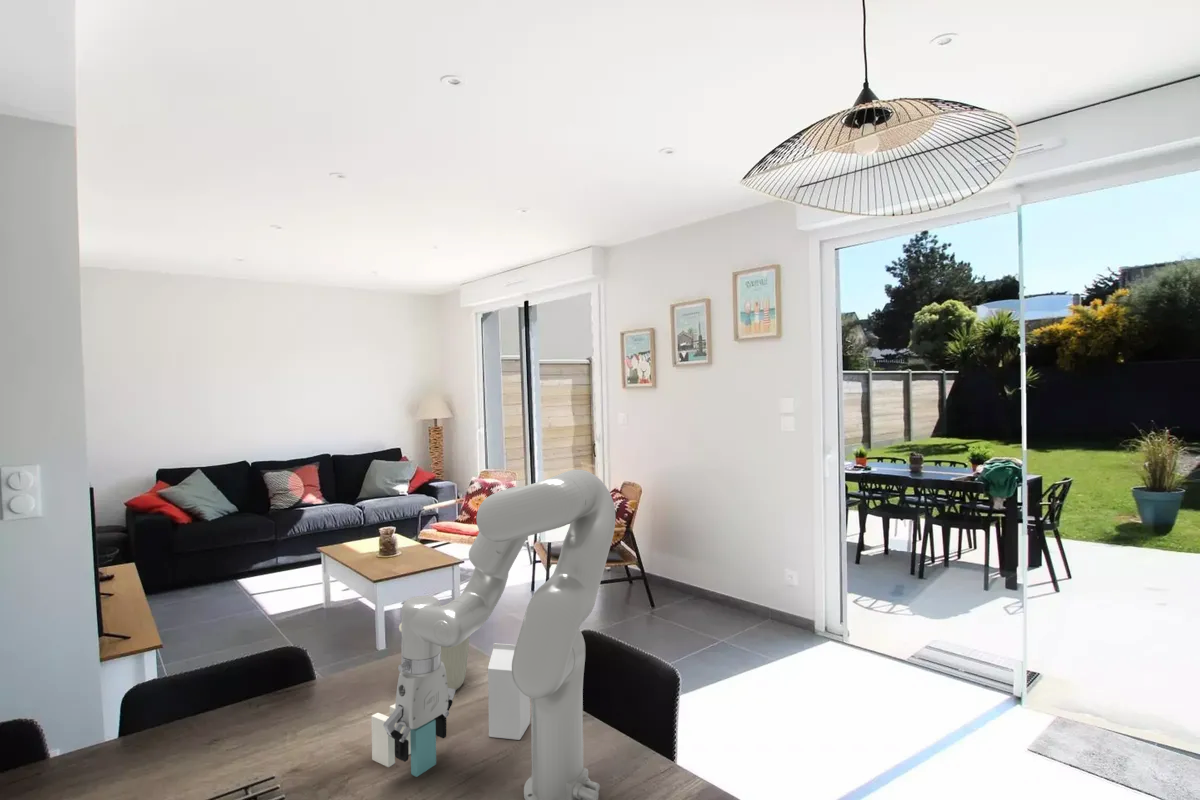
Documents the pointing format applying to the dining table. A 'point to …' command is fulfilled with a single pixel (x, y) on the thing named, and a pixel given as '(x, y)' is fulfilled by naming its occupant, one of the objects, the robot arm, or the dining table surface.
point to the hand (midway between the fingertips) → (421, 747)
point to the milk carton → (505, 696)
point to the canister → (454, 662)
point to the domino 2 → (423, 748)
